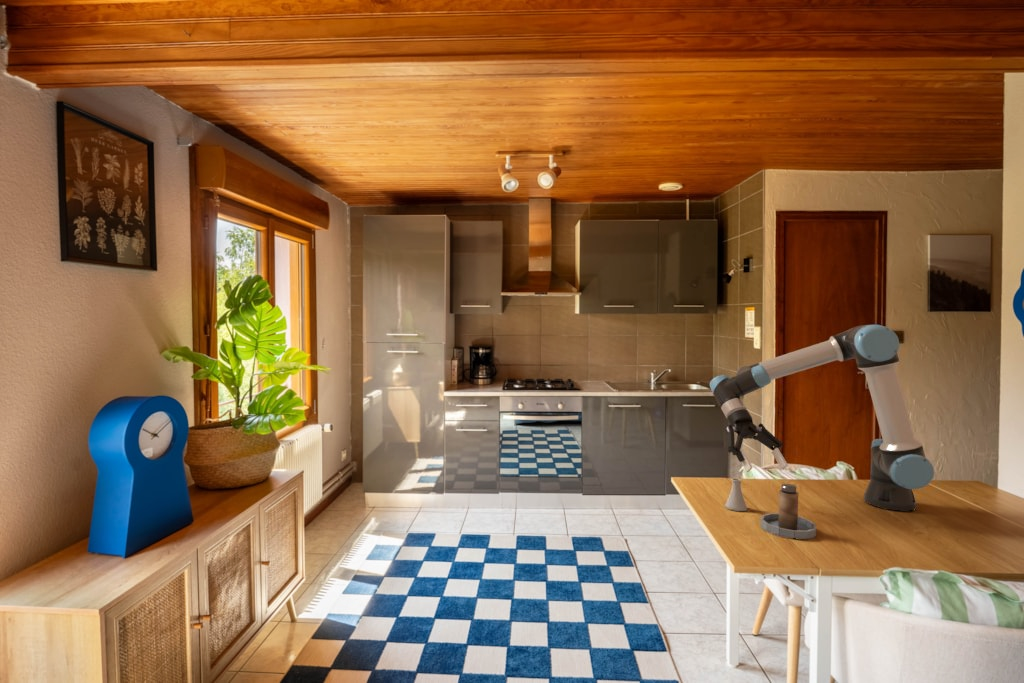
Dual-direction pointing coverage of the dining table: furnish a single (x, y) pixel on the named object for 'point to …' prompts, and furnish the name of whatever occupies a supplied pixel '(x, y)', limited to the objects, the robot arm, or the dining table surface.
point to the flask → (736, 497)
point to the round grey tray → (803, 531)
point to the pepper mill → (788, 507)
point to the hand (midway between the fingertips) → (767, 468)
